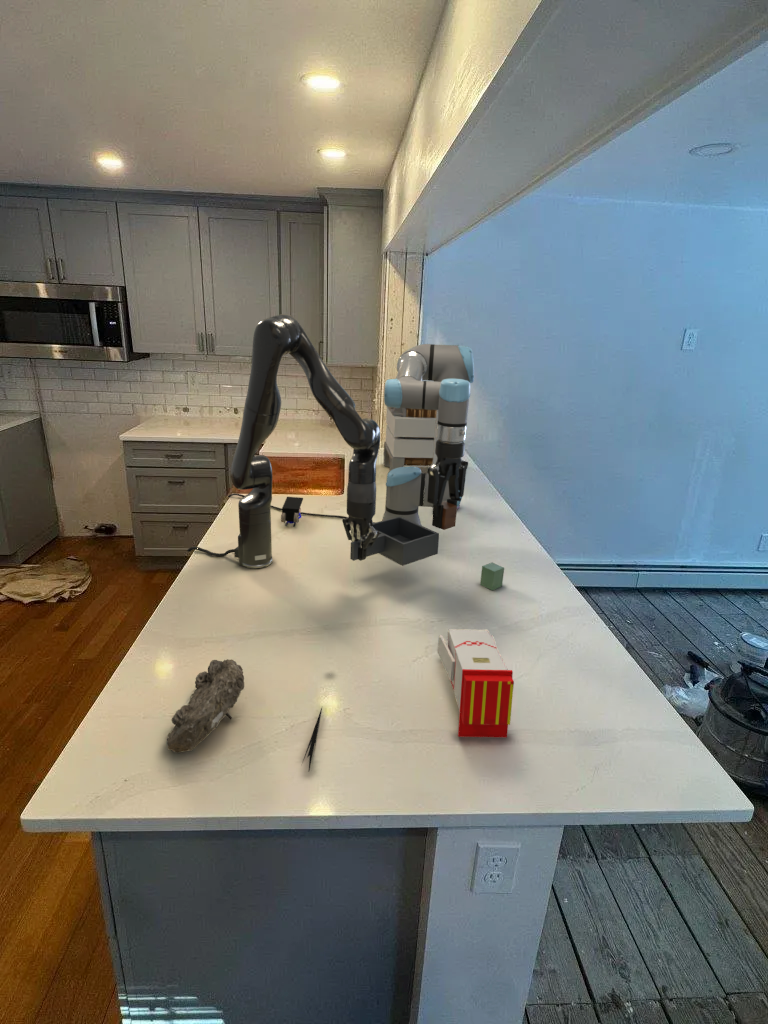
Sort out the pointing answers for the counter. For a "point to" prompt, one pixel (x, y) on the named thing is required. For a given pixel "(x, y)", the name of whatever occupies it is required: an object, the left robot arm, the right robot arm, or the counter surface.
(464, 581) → the counter surface
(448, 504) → the walnut block
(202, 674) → the fossil
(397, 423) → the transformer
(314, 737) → the feather
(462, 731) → the toy
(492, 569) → the green block
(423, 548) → the bin
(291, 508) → the figurine character
